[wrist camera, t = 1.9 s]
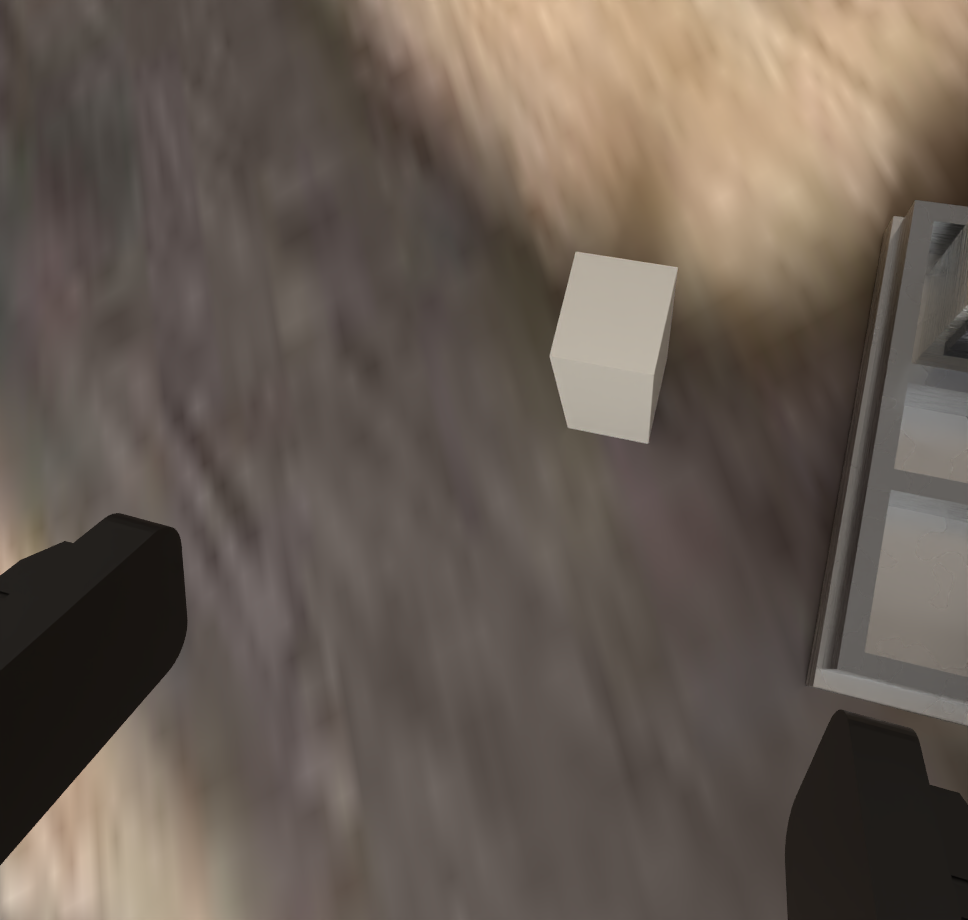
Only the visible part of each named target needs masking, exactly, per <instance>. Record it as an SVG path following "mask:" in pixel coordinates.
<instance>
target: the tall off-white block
mask: <svg viewBox="0 0 968 920" xmlns="http://www.w3.org/2000/svg"><path fill="white" fill-rule="evenodd" d="M677 271H678V267H673V266H666V265H660V264H653V263H647V262H640V261H634V260H627V259H621V258H614V257H608V256H602V255H595V254H589V253H582V252H576V253H575V257H574V261H573V265H572V269H571V273H570V277H569V281H568V285H567V289H566V293H565V297H564V301H563V305H562V309H561V313H560V317H559V321H558V325H557V329H556V333H555V337H554V341H553V345H552V349H551V353H550V360H551V363H552V367H553V371H554V375H555V379H556V383H557V387H558V391H559V395H560V399H561V403H562V406H563V410H564V414H565V418H566V422H567V426H568V428H572V429H577V430H582V431H587V432H592V433H597V434H602V435H607V436H612V437H617V438H622V439H627V440H632V441H637V442H642V443H647V444H648V443H649V438H650V434H651V429H652V425H653V420H654V416H655V411H656V407H657V402H658V398H659V393H660V388H661V384H662V379H663V375H664V370H665V366H666V361H667V355H668V347H669V338H670V330H671V321H672V313H673V305H674V296H675V288H676V280H677Z"/></svg>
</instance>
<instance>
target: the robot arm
mask: <svg viewBox="0 0 968 920" xmlns="http://www.w3.org/2000/svg"><path fill="white" fill-rule="evenodd" d="M186 631H187V609H186V596H185V584H184V571H183V558H182V546H181V539H180V536H179V534H178V532H177V531H176V530H175V529H174V528H172V527H169V526H165V525H162V524H158V523H154V522H150V521H147V520H143V519H139V518H136V517H132V516H128V515H124V514H120V513H116V514H112V515H109V516H107V517H106V518H104V519H103V520H102V521H100V522H99V523H98V524H97V525H95V526H94V527H93V528H92V529H90V530H89V531H88V532H87V533H85V534H84V535H83V536H82V537H80V538H79V539H78V540H77V541H75V542H74V543H70V542H67V541H64V542H62V543H59V544H57V545H55V546H52V547H50V548H48V549H45V550H43V551H41V552H38V553H36V554H34V555H31V556H29V557H27V558H24V559H22V560H20V561H19V562H17V563H16V564H15V565H13V566H12V567H11V568H10V569H8V570H7V571H6V572H4V573H3V574H2V575H0V865H1V864H2V863H3V862H4V860H5V859H6V858H7V857H8V856H9V855H10V853H11V852H12V851H13V850H14V849H15V848H16V847H17V845H18V844H19V843H20V842H21V841H22V840H23V838H24V837H25V836H26V835H27V834H28V833H29V832H30V830H31V829H32V828H33V827H34V826H35V825H36V823H37V822H38V821H39V820H40V819H41V818H42V817H43V815H44V814H45V813H46V812H47V811H48V810H49V808H50V807H51V806H52V805H53V804H54V803H55V802H56V800H57V799H58V798H59V797H60V796H61V795H62V793H63V792H64V791H65V790H66V789H67V788H68V787H69V785H70V784H71V783H72V782H73V781H74V780H75V778H76V777H77V776H78V775H79V774H80V773H81V772H82V770H83V769H84V768H85V767H86V766H87V765H88V763H89V762H90V761H91V760H92V759H93V758H94V757H95V755H96V754H97V753H98V752H99V751H100V750H101V749H102V747H103V746H104V745H105V744H106V743H107V742H108V740H109V739H110V738H111V737H112V736H113V735H114V734H115V732H116V731H117V730H118V729H119V728H120V727H121V725H122V724H123V723H124V722H125V721H126V720H127V719H128V717H129V716H130V715H131V714H132V713H133V712H134V710H135V709H136V708H137V707H138V706H139V705H140V704H141V702H142V701H143V700H144V699H145V698H146V697H147V695H148V694H149V693H150V692H151V691H152V690H153V689H154V687H155V686H156V685H157V684H158V683H159V682H160V680H161V679H162V678H163V677H164V676H165V675H166V674H167V672H168V671H169V670H170V669H171V667H172V666H173V664H174V663H175V661H176V659H177V658H178V656H179V653H180V651H181V649H182V646H183V643H184V640H185V636H186ZM785 869H786V890H787V912H788V920H968V805H967V803H966V802H965V800H964V799H963V798H962V796H961V795H960V793H957V792H954V791H950V790H946V789H943V788H939V787H936V786H932V785H929V780H928V776H927V772H926V768H925V764H924V759H923V755H922V751H921V747H920V743H919V739H918V737H917V735H916V733H915V732H914V730H913V729H911V728H908V727H904V726H900V725H897V724H893V723H889V722H886V721H882V720H878V719H874V718H871V717H867V716H863V715H860V714H856V713H852V712H848V711H845V710H838V711H836V713H835V714H834V715H833V716H832V718H831V720H830V722H829V724H828V726H827V728H826V731H825V733H824V735H823V737H822V740H821V742H820V744H819V746H818V748H817V751H816V753H815V755H814V757H813V760H812V762H811V764H810V766H809V769H808V771H807V773H806V775H805V778H804V780H803V782H802V784H801V787H800V789H799V791H798V793H797V795H796V798H795V800H794V803H793V806H792V809H791V813H790V817H789V822H788V828H787V834H786V844H785Z"/></svg>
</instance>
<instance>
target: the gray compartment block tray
mask: <svg viewBox="0 0 968 920" xmlns="http://www.w3.org/2000/svg"><path fill="white" fill-rule="evenodd" d="M806 686H810V687H814V688H818V689H821V690H825V691H829V692H833V693H837V694H841V695H845V696H849V697H853V698H857V699H861V700H865V701H869V702H873V703H877V704H881V705H885V706H889V707H893V708H897V709H901V710H905V711H909V712H913V713H917V714H921V715H925V716H929V717H933V718H936V719H940V720H944V721H948V722H952V723H956V724H960V725H964V726H968V207H966V206H958V205H951V204H943V203H935V202H927V201H920V200H915V201H914V203H913V204H912V206H911V208H910V209H909V211H908V213H907V214H906V216H905V217H899V216H893V218H892V220H891V221H890V223H889V225H888V227H887V228H886V230H885V232H884V234H883V240H882V246H881V252H880V257H879V263H878V269H877V275H876V280H875V286H874V292H873V298H872V304H871V309H870V315H869V321H868V327H867V332H866V338H865V344H864V350H863V356H862V361H861V367H860V373H859V379H858V384H857V390H856V396H855V402H854V408H853V413H852V419H851V425H850V431H849V436H848V442H847V448H846V454H845V460H844V465H843V471H842V477H841V483H840V488H839V494H838V500H837V506H836V512H835V517H834V523H833V529H832V535H831V540H830V546H829V552H828V558H827V563H826V569H825V575H824V581H823V587H822V592H821V598H820V604H819V610H818V615H817V621H816V627H815V633H814V639H813V644H812V650H811V656H810V662H809V667H808V673H807V679H806Z"/></svg>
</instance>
